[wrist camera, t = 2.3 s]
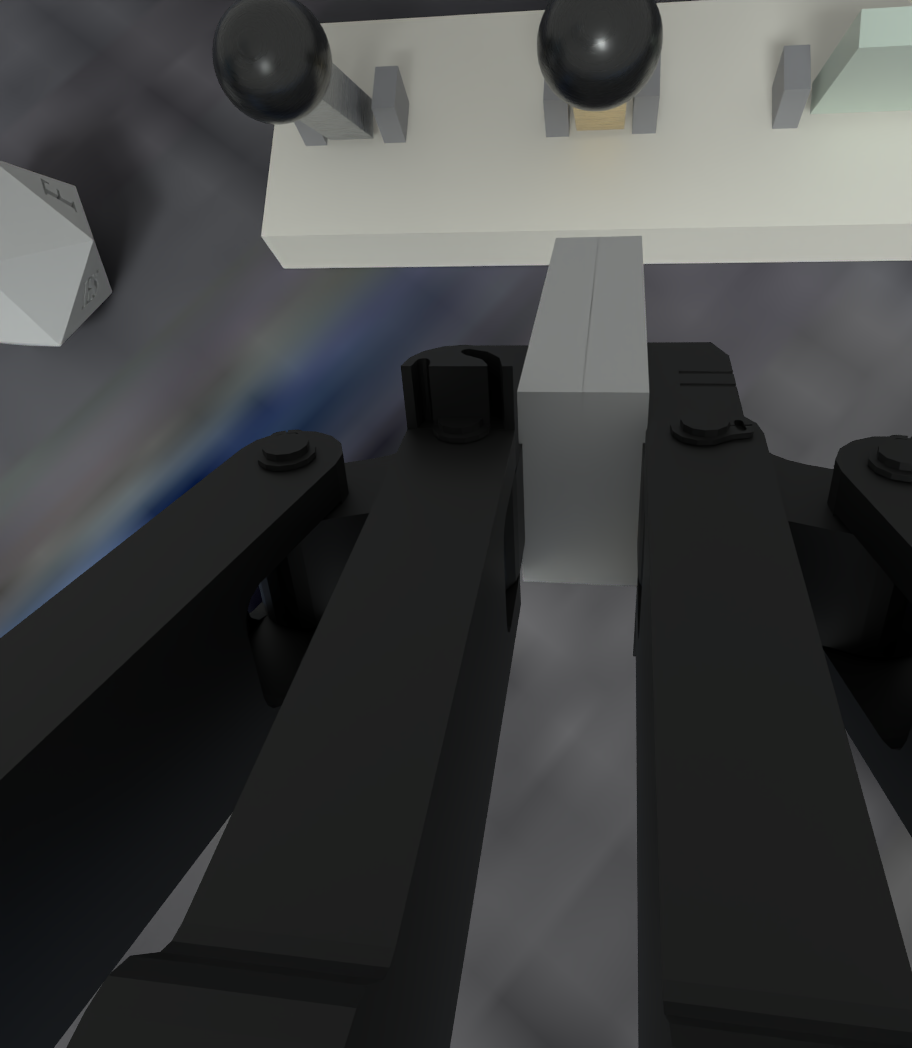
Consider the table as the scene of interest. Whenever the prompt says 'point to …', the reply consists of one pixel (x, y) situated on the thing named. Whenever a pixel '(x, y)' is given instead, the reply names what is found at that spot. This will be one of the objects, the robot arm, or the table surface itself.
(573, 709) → the table surface
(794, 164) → the panel
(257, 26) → the grey lever
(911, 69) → the sage paddle
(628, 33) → the brass lever
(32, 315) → the die
